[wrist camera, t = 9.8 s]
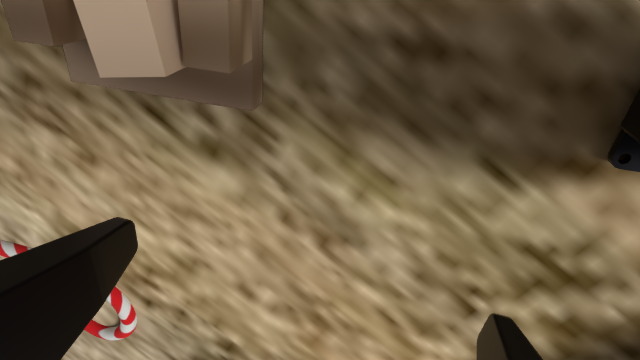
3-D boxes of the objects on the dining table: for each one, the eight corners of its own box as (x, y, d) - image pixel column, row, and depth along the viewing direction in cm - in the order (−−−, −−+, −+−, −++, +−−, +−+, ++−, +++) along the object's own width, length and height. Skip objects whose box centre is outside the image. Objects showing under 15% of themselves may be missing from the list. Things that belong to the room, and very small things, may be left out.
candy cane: (-40, 216, 29) (139, 306, 30) (-23, 207, 30) (149, 293, 31) (-33, 277, 33) (123, 353, 34) (-19, 266, 34) (132, 341, 35)
